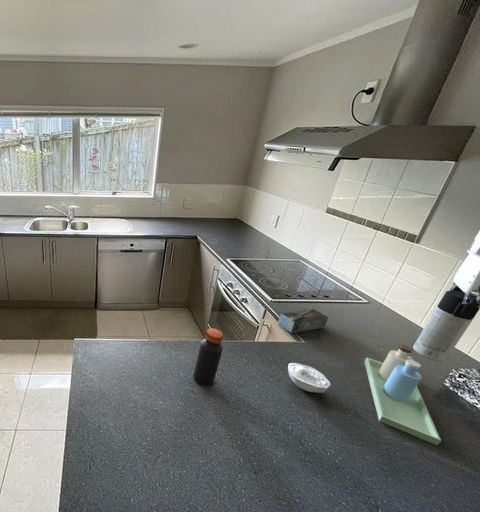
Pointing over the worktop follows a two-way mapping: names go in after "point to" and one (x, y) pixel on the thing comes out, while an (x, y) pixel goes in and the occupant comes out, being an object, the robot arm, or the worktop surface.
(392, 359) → the cream bottle
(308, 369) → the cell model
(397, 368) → the pale blue bottle
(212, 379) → the vinegar
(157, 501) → the worktop surface
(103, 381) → the worktop surface
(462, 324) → the spray can
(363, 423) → the worktop surface
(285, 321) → the beverage carton
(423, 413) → the tray
